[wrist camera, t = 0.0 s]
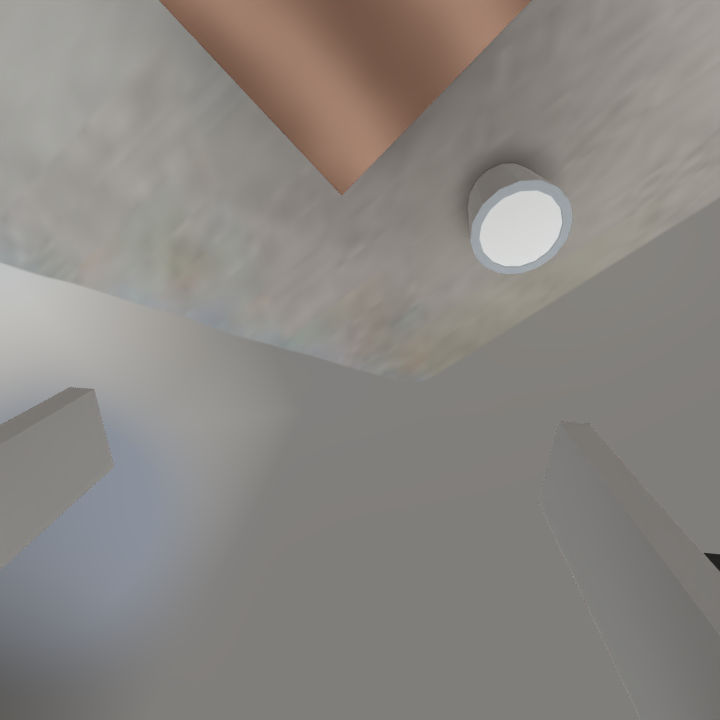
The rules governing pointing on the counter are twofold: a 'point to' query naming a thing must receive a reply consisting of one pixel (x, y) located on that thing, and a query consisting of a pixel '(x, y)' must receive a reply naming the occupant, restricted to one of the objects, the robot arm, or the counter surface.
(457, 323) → the counter surface
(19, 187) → the counter surface
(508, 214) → the grey round tub
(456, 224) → the counter surface
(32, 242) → the counter surface
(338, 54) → the brown grey striped block
